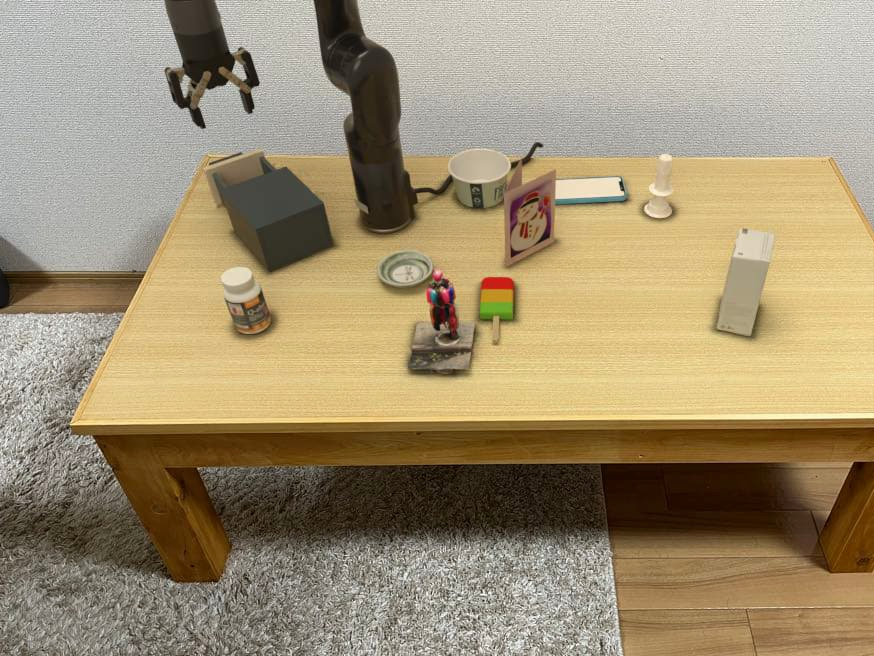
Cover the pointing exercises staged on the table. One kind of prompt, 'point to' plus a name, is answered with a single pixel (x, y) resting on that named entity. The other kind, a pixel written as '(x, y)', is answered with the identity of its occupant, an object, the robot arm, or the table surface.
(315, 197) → the cabinet
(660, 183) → the candle
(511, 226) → the greeting card
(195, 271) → the table surface
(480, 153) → the food container
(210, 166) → the drawer
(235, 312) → the pill bottle
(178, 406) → the table surface
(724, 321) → the cosmetic box
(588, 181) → the smartphone
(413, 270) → the saucer
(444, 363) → the statue
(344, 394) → the table surface
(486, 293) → the popsicle
